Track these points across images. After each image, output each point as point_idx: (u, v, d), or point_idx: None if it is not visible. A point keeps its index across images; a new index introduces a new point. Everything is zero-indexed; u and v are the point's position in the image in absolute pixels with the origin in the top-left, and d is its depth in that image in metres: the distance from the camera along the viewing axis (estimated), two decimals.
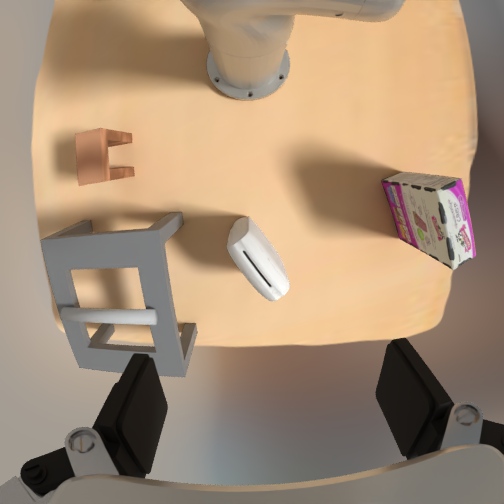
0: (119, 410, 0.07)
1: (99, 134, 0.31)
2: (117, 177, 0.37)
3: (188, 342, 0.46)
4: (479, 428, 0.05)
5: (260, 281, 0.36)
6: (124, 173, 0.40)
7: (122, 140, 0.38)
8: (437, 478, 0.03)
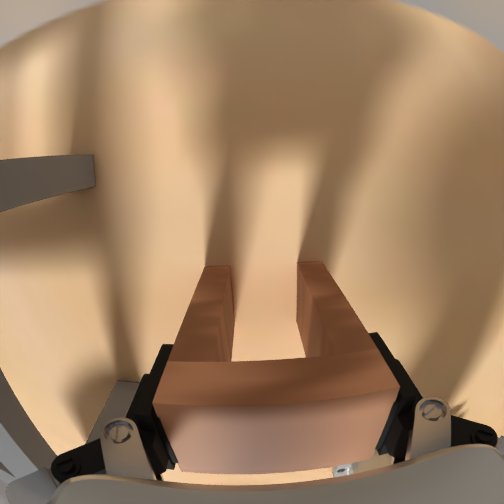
0: None
1: (351, 461, 0.08)
2: None
3: None
4: (448, 421, 0.06)
5: None
6: None
7: None
8: (437, 478, 0.03)
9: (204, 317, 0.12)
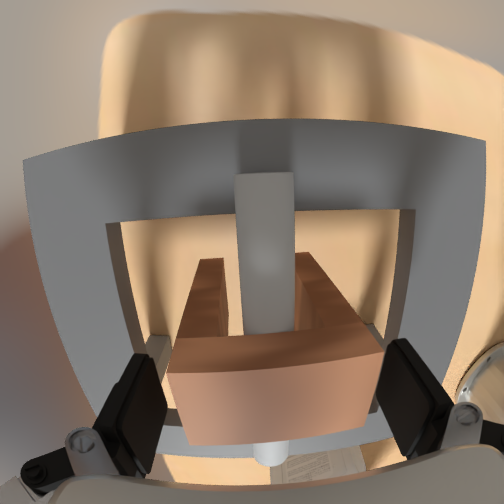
0: (119, 410, 0.07)
1: (345, 428, 0.10)
2: None
3: None
4: (479, 428, 0.05)
5: None
6: None
7: None
8: (437, 478, 0.03)
9: (205, 301, 0.13)
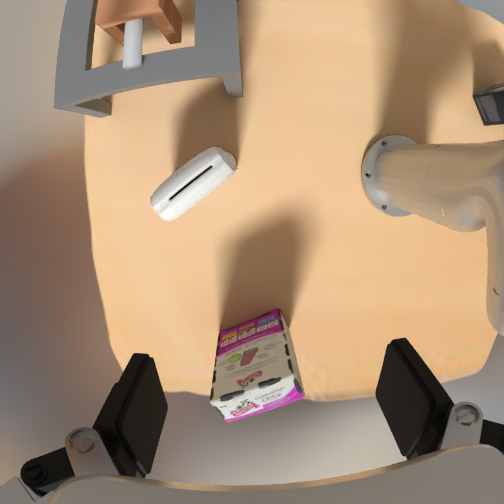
0: (119, 410, 0.07)
1: (150, 5, 0.19)
2: (112, 35, 0.24)
3: (92, 107, 0.32)
4: (479, 428, 0.05)
5: (176, 187, 0.29)
6: None
7: (163, 32, 0.26)
8: (437, 478, 0.03)
9: None
